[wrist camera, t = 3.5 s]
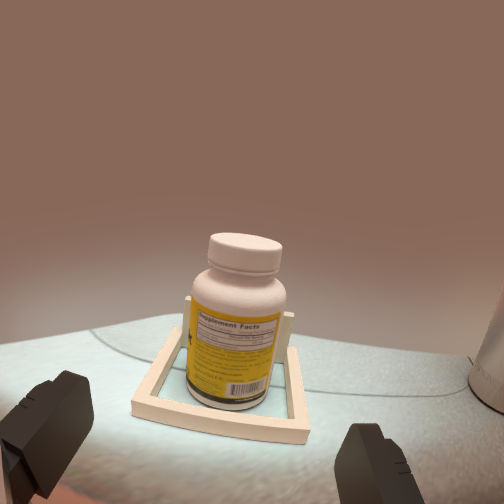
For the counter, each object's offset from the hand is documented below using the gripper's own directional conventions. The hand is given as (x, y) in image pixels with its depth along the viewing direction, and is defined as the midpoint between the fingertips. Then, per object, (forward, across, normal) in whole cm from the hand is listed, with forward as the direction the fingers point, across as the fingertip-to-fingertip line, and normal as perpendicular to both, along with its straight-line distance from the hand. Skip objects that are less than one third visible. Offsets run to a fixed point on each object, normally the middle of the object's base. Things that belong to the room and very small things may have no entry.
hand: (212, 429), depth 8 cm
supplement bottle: (+10, 0, +6) cm, 12 cm away
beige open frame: (+10, 0, +6) cm, 12 cm away
